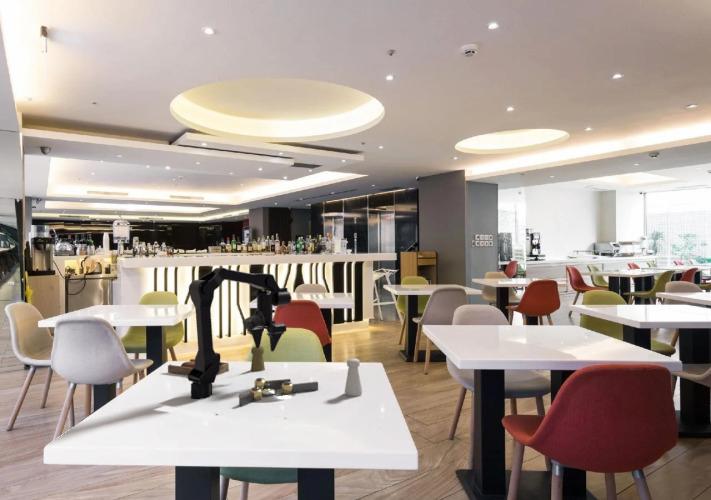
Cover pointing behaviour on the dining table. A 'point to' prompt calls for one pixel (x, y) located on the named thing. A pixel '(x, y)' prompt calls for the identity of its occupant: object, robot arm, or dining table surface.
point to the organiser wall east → (194, 361)
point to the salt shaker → (353, 378)
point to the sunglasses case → (188, 364)
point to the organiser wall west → (179, 369)
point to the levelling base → (262, 396)
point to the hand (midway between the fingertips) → (265, 349)
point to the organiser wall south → (223, 368)
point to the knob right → (298, 387)
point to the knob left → (269, 383)
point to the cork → (257, 359)
